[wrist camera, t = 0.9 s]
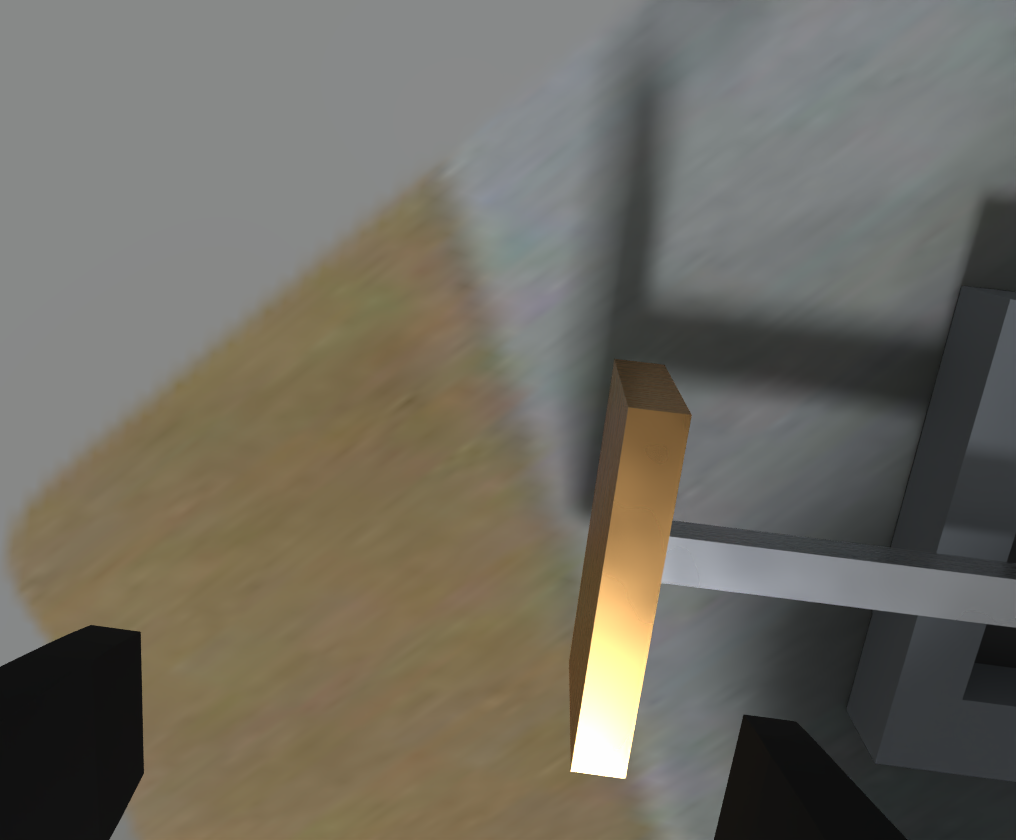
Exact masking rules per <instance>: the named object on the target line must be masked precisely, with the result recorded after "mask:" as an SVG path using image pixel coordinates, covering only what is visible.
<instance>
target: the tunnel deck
mask: <svg viewBox="0 0 1016 840" xmlns="http://www.w3.org/2000/svg"><path fill="white" fill-rule="evenodd" d="M891 548H898V549H906V550H914V551H922V552H930V553H938V554H946V555H955V556H963V557H971V558H979V559H987V560H995V561H1003V562H1011V563H1016V292H1012V291H1003V290H995V289H986V288H977V287H969V286H962V287H961V291H960V295H959V298H958V302H957V306H956V309H955V313H954V317H953V320H952V324H951V328H950V331H949V335H948V339H947V342H946V346H945V350H944V353H943V357H942V361H941V364H940V368H939V372H938V375H937V379H936V383H935V386H934V390H933V394H932V397H931V401H930V405H929V408H928V412H927V416H926V419H925V423H924V427H923V430H922V434H921V438H920V441H919V445H918V449H917V452H916V456H915V460H914V463H913V467H912V471H911V474H910V478H909V482H908V485H907V489H906V493H905V496H904V500H903V504H902V507H901V511H900V515H899V518H898V522H897V526H896V529H895V533H894V537H893V540H892V544H891ZM846 710H847V712H848V714H849V716H850V718H851V720H852V722H853V723H854V725H855V727H856V729H857V731H858V733H859V735H860V737H861V738H862V740H863V742H864V744H865V746H866V748H867V750H868V752H869V754H870V755H871V757H872V759H873V761H874V763H875V764H882V765H890V766H897V767H905V768H913V769H920V770H928V771H935V772H943V773H951V774H958V775H966V776H973V777H981V778H988V779H996V780H1004V781H1011V782H1016V628H1015V627H1007V626H999V625H991V624H983V623H975V622H967V621H959V620H951V619H943V618H935V617H928V616H920V615H912V614H904V613H896V612H888V611H880V610H873V614H872V617H871V621H870V625H869V628H868V632H867V636H866V639H865V643H864V647H863V650H862V654H861V658H860V661H859V665H858V669H857V672H856V676H855V680H854V683H853V687H852V691H851V694H850V698H849V702H848V705H847V709H846Z"/></svg>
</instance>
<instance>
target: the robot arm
mask: <svg viewBox="0 0 1016 840" xmlns="http://www.w3.org/2000/svg"><path fill="white" fill-rule="evenodd" d="M143 774H144V759H143V716H142V672H141V632H138V631H131V630H123V629H116V628H109V627H101V626H94V625H90V626H87V627H85V628H82V629H80V630H78V631H75V632H73V633H70V634H68V635H66V636H64V637H61V638H59V639H57V640H55V641H53V642H51V643H48V644H46V645H44V646H42V647H40V648H38V649H36V650H34V651H32V652H30V653H28V654H26V655H23V656H22V657H19V658H17V659H15V660H13V661H11V662H9V663H7V664H5V665H3V666H1V667H0V840H109V839H110V837H111V836H112V834H113V832H114V830H115V828H116V826H117V825H118V823H119V821H120V819H121V817H122V815H123V813H124V811H125V809H126V807H127V805H128V803H129V801H130V799H131V798H132V796H133V794H134V792H135V790H136V788H137V786H138V784H139V782H140V780H141V778H142V776H143ZM714 840H907V839H906V838H905V837H904V836H903V834H902V833H901V832H900V831H899V830H898V829H897V828H896V827H895V826H894V825H893V824H892V823H891V822H890V821H889V820H888V819H887V818H886V817H885V815H884V814H883V813H882V812H881V811H880V810H879V809H878V808H877V807H876V806H875V805H874V804H873V803H872V802H871V801H870V799H869V798H868V797H867V796H866V795H865V794H864V793H863V792H862V791H861V790H860V789H859V788H858V787H857V785H856V784H855V783H854V782H853V781H852V780H851V779H850V778H849V777H848V776H847V775H846V774H845V773H844V771H843V770H842V769H841V768H840V767H839V766H838V765H837V764H836V763H835V762H834V761H833V760H832V758H831V757H830V756H829V755H828V754H827V753H826V752H825V751H824V750H823V749H822V748H821V747H820V746H819V745H818V743H817V742H816V741H815V740H814V739H813V738H812V737H811V736H810V735H809V734H808V733H807V732H806V731H805V730H804V729H803V728H802V727H801V726H800V725H799V724H798V723H797V722H794V721H787V720H780V719H773V718H765V717H758V716H751V715H743V720H742V724H741V728H740V732H739V736H738V741H737V745H736V749H735V753H734V757H733V762H732V766H731V770H730V774H729V779H728V783H727V787H726V791H725V795H724V800H723V804H722V808H721V812H720V816H719V821H718V825H717V829H716V833H715V837H714Z"/></svg>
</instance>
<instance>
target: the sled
mask: <svg viewBox="0 0 1016 840" xmlns="http://www.w3.org/2000/svg"><path fill="white" fill-rule="evenodd" d="M691 416H692V415H691V413H690V411H689V409H688V407H687V405H686V404H685V402H684V400H683V398H682V396H681V394H680V393H679V391H678V389H677V387H676V385H675V383H674V381H673V380H672V378H671V376H670V374H669V372H668V370H667V369H666V367H665V365H661V364H653V363H644V362H636V361H627V360H619V359H614V365H613V372H612V379H611V385H610V392H609V399H608V405H607V412H606V419H605V425H604V432H603V439H602V445H601V452H600V459H599V465H598V472H597V479H596V485H595V492H594V499H593V505H592V512H591V519H590V525H589V532H588V539H587V545H586V552H585V559H584V565H583V572H582V579H581V585H580V592H579V599H578V606H577V612H576V619H575V626H574V632H573V639H572V646H571V652H570V659H569V685H570V745H571V771H573V772H581V773H588V774H596V775H603V776H611V777H618V778H625V777H626V772H627V766H628V761H629V755H630V750H631V744H632V739H633V733H634V728H635V722H636V717H637V711H638V706H639V700H640V695H641V689H642V684H643V678H644V673H645V668H646V662H647V657H648V651H649V646H650V640H651V635H652V629H653V624H654V618H655V613H656V607H657V602H658V596H659V591H660V585H661V583H666V584H674V585H682V586H690V587H698V588H706V589H714V590H722V591H730V592H738V593H746V594H753V595H761V596H769V597H777V598H785V599H793V600H801V601H809V602H817V603H825V604H833V605H841V606H848V607H856V608H864V609H872V610H880V611H888V612H896V613H904V614H912V615H920V616H928V617H935V618H943V619H951V620H959V621H967V622H975V623H983V624H991V625H999V626H1007V627H1015V628H1016V563H1011V562H1003V561H995V560H987V559H979V558H971V557H963V556H955V555H946V554H938V553H930V552H922V551H914V550H906V549H898V548H890V547H882V546H874V545H866V544H858V543H850V542H842V541H834V540H826V539H818V538H809V537H801V536H793V535H785V534H777V533H769V532H761V531H753V530H745V529H737V528H729V527H721V526H713V525H705V524H697V523H689V522H681V521H672V520H673V514H674V509H675V503H676V498H677V492H678V487H679V481H680V476H681V470H682V465H683V459H684V454H685V449H686V443H687V438H688V432H689V427H690V421H691Z"/></svg>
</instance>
